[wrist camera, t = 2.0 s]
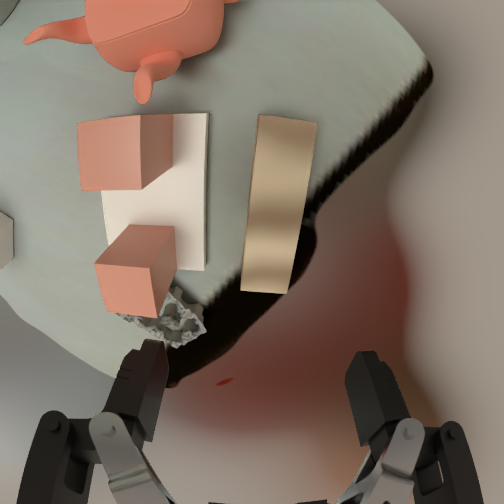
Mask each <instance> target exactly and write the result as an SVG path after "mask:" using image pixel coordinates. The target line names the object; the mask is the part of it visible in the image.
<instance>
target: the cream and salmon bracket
mask: <svg viewBox="0 0 504 504" xmlns="http://www.w3.org/2000/svg"><path fill="white" fill-rule="evenodd" d="M208 122H209V114H207V113H194V114H149V115H133V116H123V117H115V118H107V119H100V120H93V121H87V122H81V123H77V138H78V159H79V172H80V183H81V191H101V194H102V203H103V211H104V219H105V226H106V232H107V238H108V244H109V247H108V248H107V249H106V250H105V251H104V253H103V254H102V255H101V256H100V257H99V258H98V259H97V261H96V262H95V263H94V266H95V270H96V274H97V278H98V282H99V286H100V290H101V293H102V297H103V300H104V304H105V307H106V310H107V312H114V313H121V314H128V315H135V316H143V317H151V318H158V315H159V313H160V310H161V308H162V305H163V303H164V300H165V297H166V295H167V292H168V290H169V287H170V285H171V282H172V280H173V278H174V275H175V273H176V270H177V269H184V270H199V271H204V270H205V266H206V175H207V144H208Z"/></svg>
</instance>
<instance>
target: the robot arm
mask: <svg viewBox="0 0 504 504" xmlns="http://www.w3.org/2000/svg"><path fill="white" fill-rule="evenodd" d="M18 1H19V0H0V25H1V24H2V23H3V22H4V21H5V20H6V18H7V17H8V16H9V15H10V13H11V12H12V11H13V9H14V7H15V6H16V4H17V2H18ZM167 377H168V360H167V355H166V350H165V345H164V342H163V341H158V340H151V339H145V340H144V342H143V344H142V347H141V349H140V350H134V349H132V350H131V351H130V352H129V353H128V354H127V355H126V356H125V357H124V359H123V361H122V364H121V366H120V370H119V371H118V374H117V378H116V379H115V381H114V384H113V386H112V389H111V392H110V394H109V397H108V399H107V402H106V405H105V407H104V409H103V411H102V412H101V413H99V414H97V415H95V416H94V417H93V418H90V419H68V418H67V417H66V416H65V415H64V414H63V413H61V412H59V411H49V412H47V413H45V414H44V415H43V416H42V418H41V419H40V422H39V424H38V427H37V430H36V433H35V436H34V439H33V442H32V445H31V448H30V451H29V455H28V458H27V461H26V465H25V468H24V472H23V476H22V481H21V484H20V489H19V493H18V498H17V504H87V503H88V497H89V490H90V485H91V479H92V474H93V469H94V465H95V464H103V467H104V469H105V471H106V473H107V475H108V478H109V483H108V484H109V487H110V490H111V492H112V494H113V496H114V498H115V500H116V502H117V503H118V504H177V503H176V502H175V501H174V499H173V498H172V496H171V495H170V494H169V493H168V491H167V490H166V488H165V487H164V486H163V484H162V483H161V481H160V479H159V478H158V476H157V475H156V473H155V471H154V470H153V468H152V466H151V465H150V463H149V461H148V459H147V458H146V456H145V454H144V452H143V450H142V448H143V444H144V441H149V442H152V440H153V435H154V431H155V426H156V422H157V418H158V413H159V410H160V405H161V401H162V397H163V393H164V389H165V385H166V381H167ZM345 386H346V390H347V394H348V397H349V401H350V405H351V409H352V413H353V416H354V421H355V425H356V429H357V433H358V437H359V442H360V446H367V445H370V449H371V450H370V451H369V452H368V454H367V456H366V458H365V460H364V462H363V464H362V466H361V467H360V469H359V471H358V473H357V475H356V476H355V478H354V480H353V482H352V483H351V485H350V486H349V487H348V488H347V489H346V490H345V491H344V492H343V494H342V495H341V496H340V497H339V499H338V500H337V502H336V503H335V504H406V503H407V501H408V498H409V496H410V494H411V492H412V489H413V495H414V501H415V504H484V503H483V498H482V493H481V489H480V484H479V480H478V477H477V473H476V469H475V466H474V462H473V459H472V455H471V452H470V449H469V446H468V443H467V440H466V437H465V434H464V431H463V429H462V427H461V426H460V425H459V424H458V423H456V422H454V421H448V422H446V423H444V424H443V425H442V426H441V427H440V428H438V427H424V426H423V425H422V424H421V423H420V422H419V421H417V420H415V419H412V418H411V417H410V415H409V412H408V409H407V407H406V404H405V402H404V399H403V397H402V394H401V391H400V389H399V388H398V384H397V382H396V381H395V377H394V374H393V372H392V370H391V369H390V367H389V366H388V365H387V364H386V363H385V362H384V361H382V362H380V360H379V358H378V356H377V353H376V352H375V351H358V352H357V353H356V354H355V356H354V358H353V360H352V362H351V364H350V366H349V368H348V370H347V372H346V375H345ZM438 461H439V463H440V467H441V471H442V475H443V482H442V478H441V474H440V470H439V465H438ZM209 504H222V503H211V502H209ZM297 504H328V503H327V500H319V501H311V502H302V503H297Z"/></svg>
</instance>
